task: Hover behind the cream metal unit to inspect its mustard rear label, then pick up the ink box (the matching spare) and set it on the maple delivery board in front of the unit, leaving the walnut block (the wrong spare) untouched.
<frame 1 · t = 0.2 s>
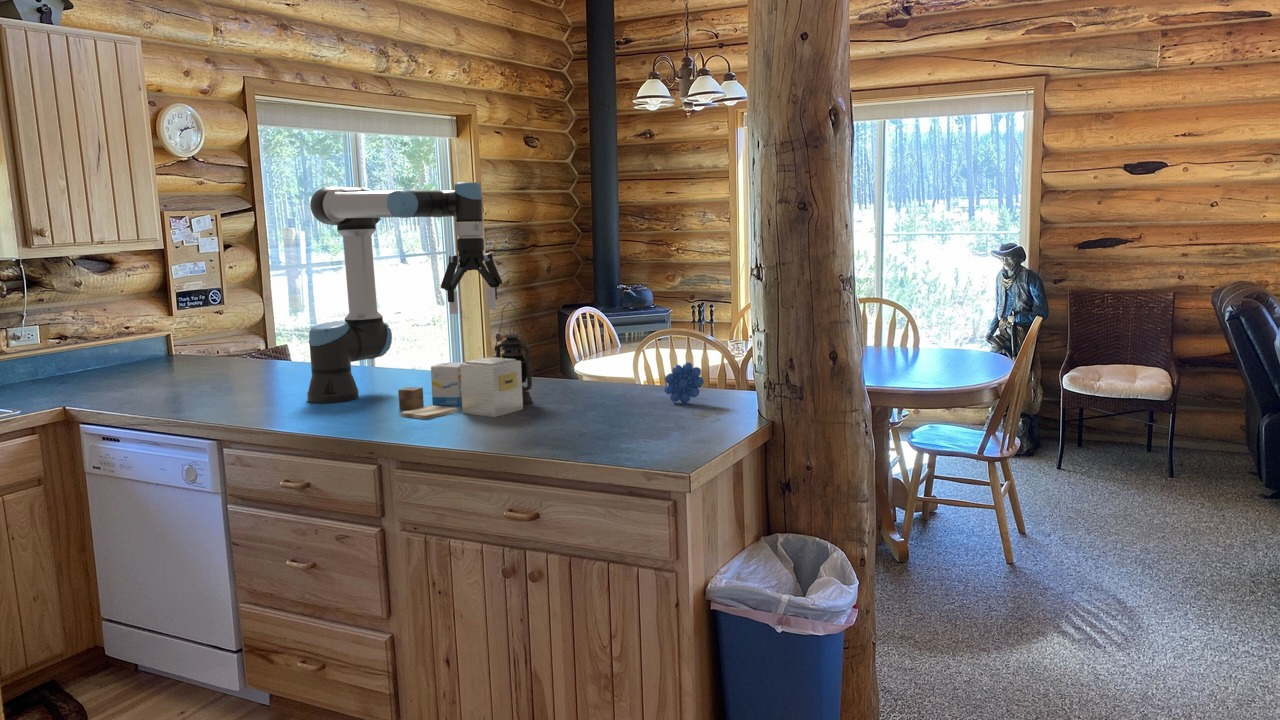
hand: (473, 311, 275), 28 cm above the counter, fingers open, 13 cm apart
board: (429, 413, 269), on the counter
blue flower: (685, 403, 277), on the counter
ink box: (451, 403, 284), on the counter
lantern: (514, 403, 283), on the counter
unit: (492, 411, 270), on the counter
walnut block: (411, 409, 277), on the counter
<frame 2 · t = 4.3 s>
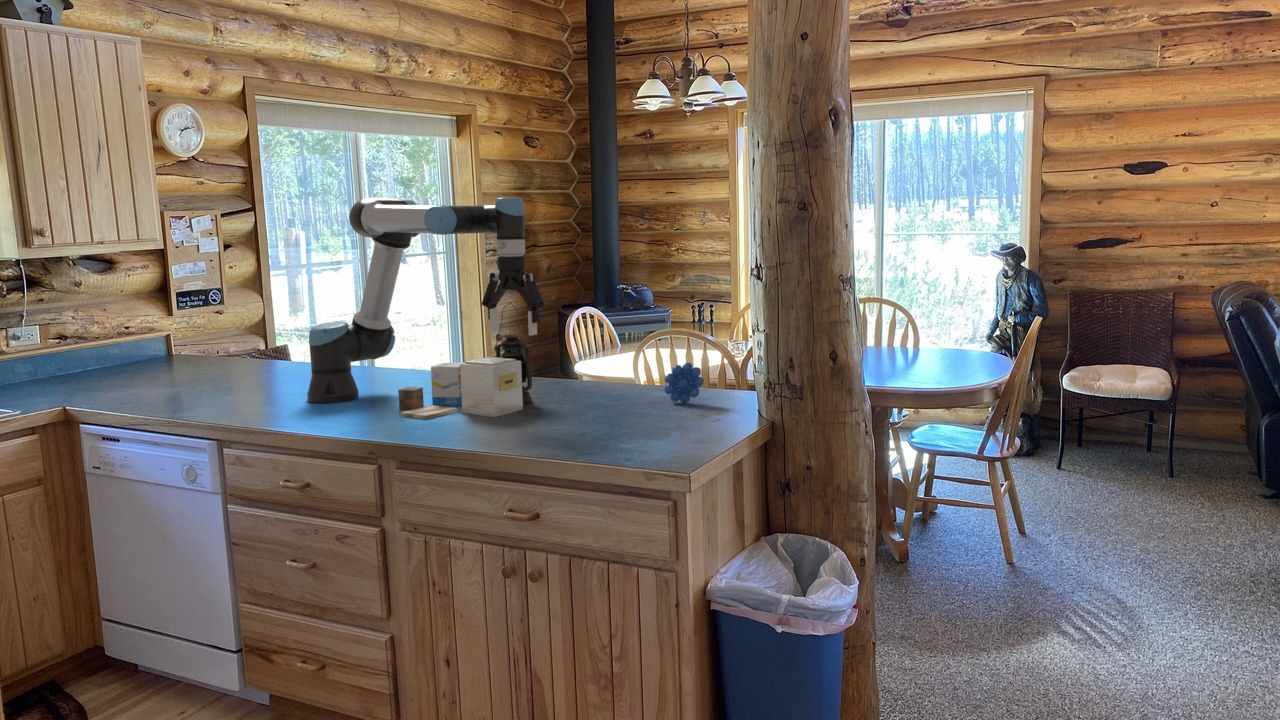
hand: (513, 333, 261), 23 cm above the counter, fingers open, 13 cm apart
nothing on the counter moved.
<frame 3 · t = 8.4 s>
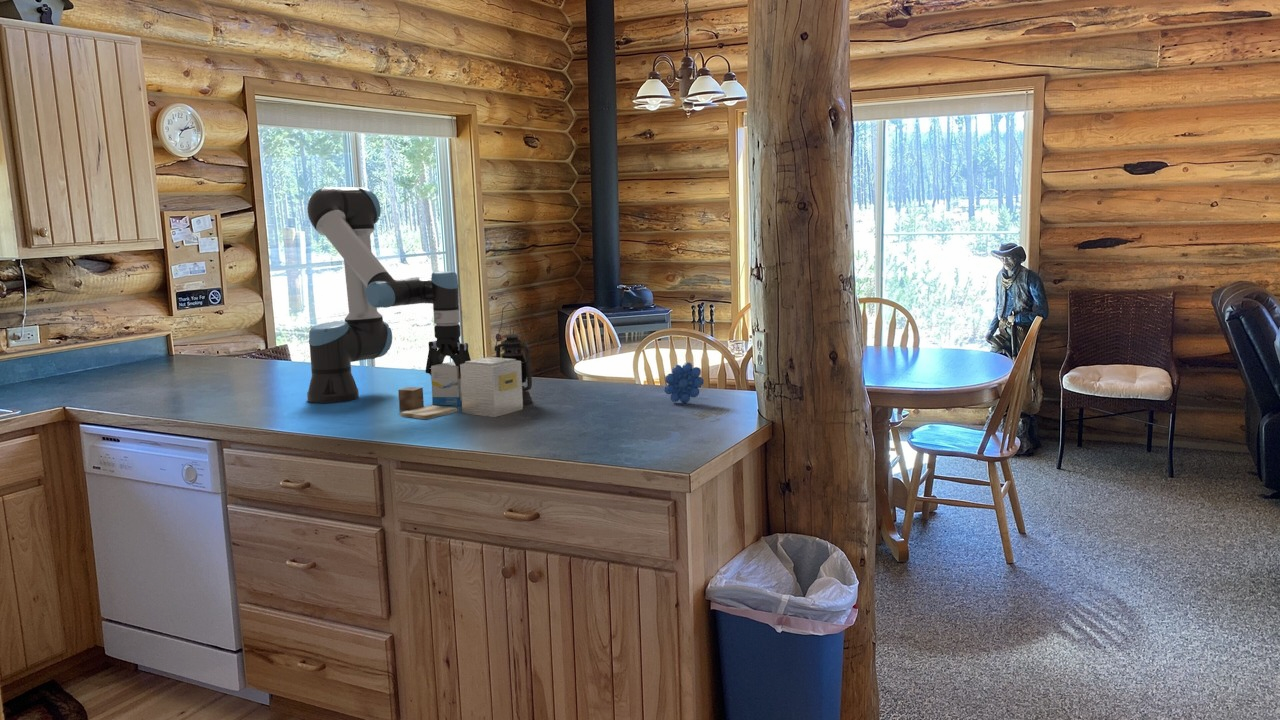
hand: (450, 398, 284), 1 cm above the counter, fingers closed on ink box, 10 cm apart
ink box: (451, 403, 284), on the counter, touching gripper
everything else where it was.
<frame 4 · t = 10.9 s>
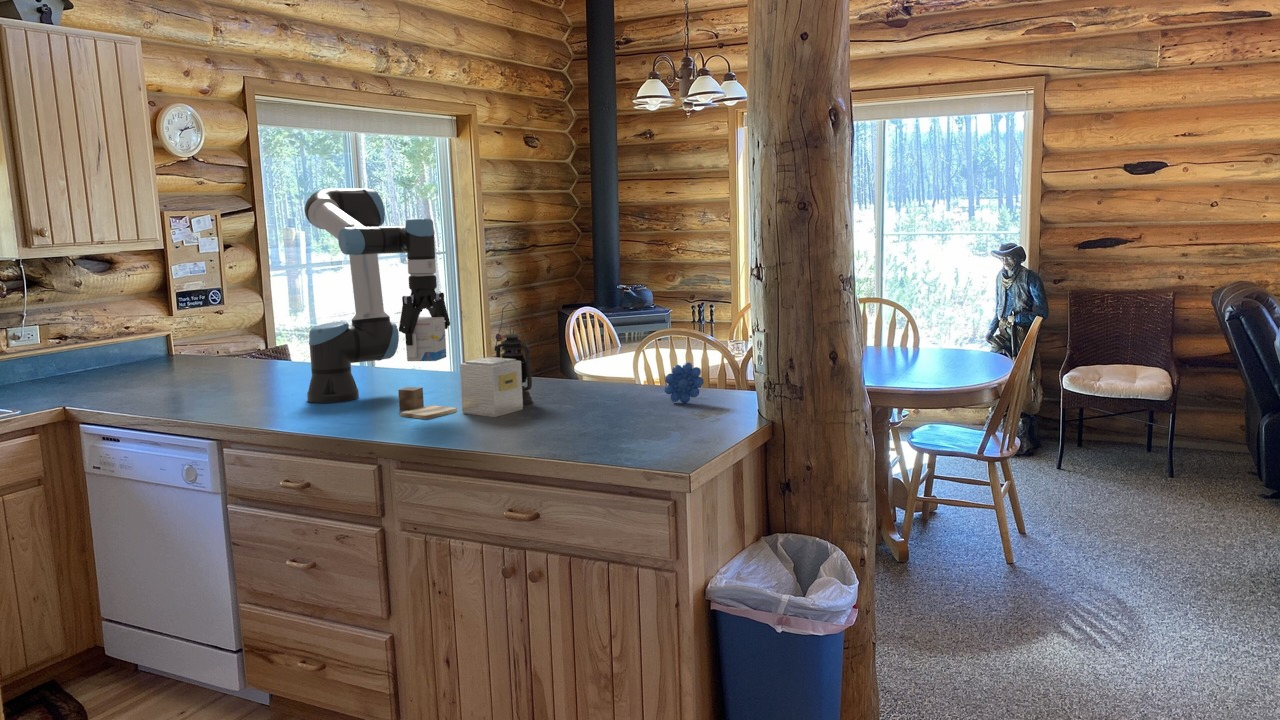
hand: (426, 354, 267), 17 cm above the counter, fingers closed on ink box, 10 cm apart
ink box: (427, 360, 267), point 15 cm above the counter, touching gripper
everything else where it was.
when the fingers open (4 cm above the counter, at t = 13.8 s): ink box drops 2 cm, resting on board.
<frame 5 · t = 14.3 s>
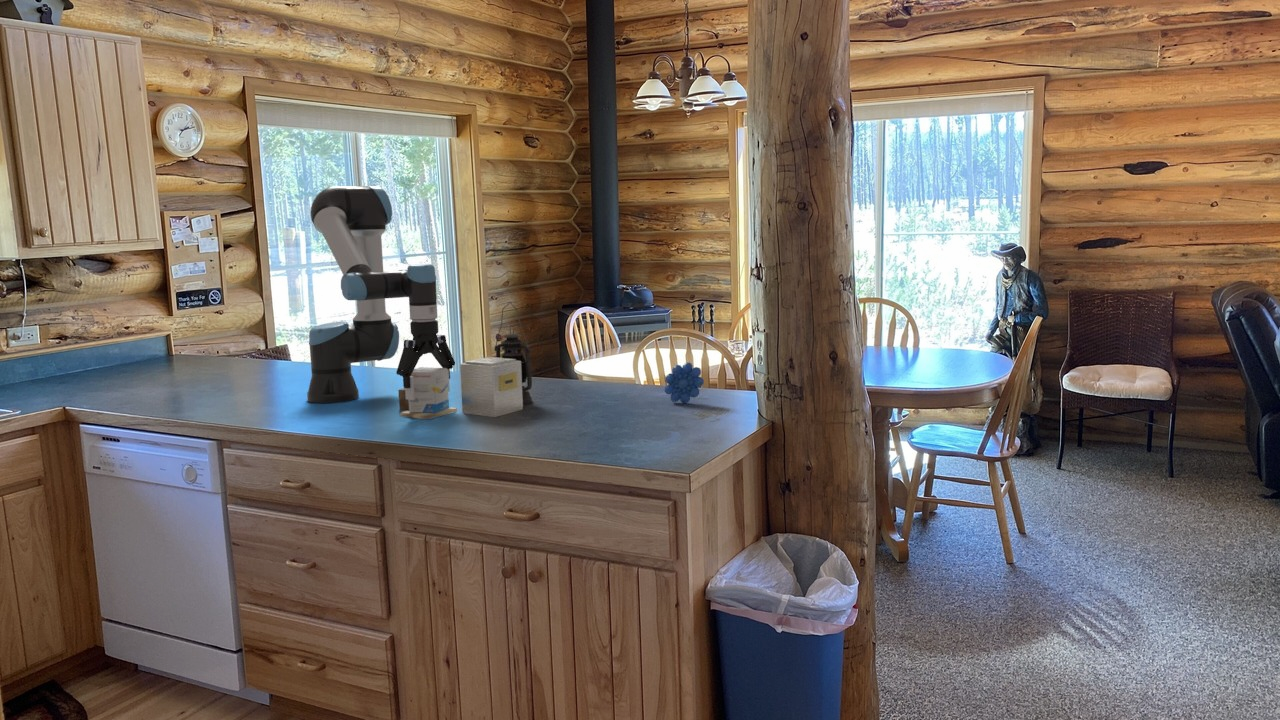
hand: (428, 395, 268), 5 cm above the counter, fingers open, 13 cm apart
ink box: (429, 410, 269), point 1 cm above the counter, touching board
everything else where it was.
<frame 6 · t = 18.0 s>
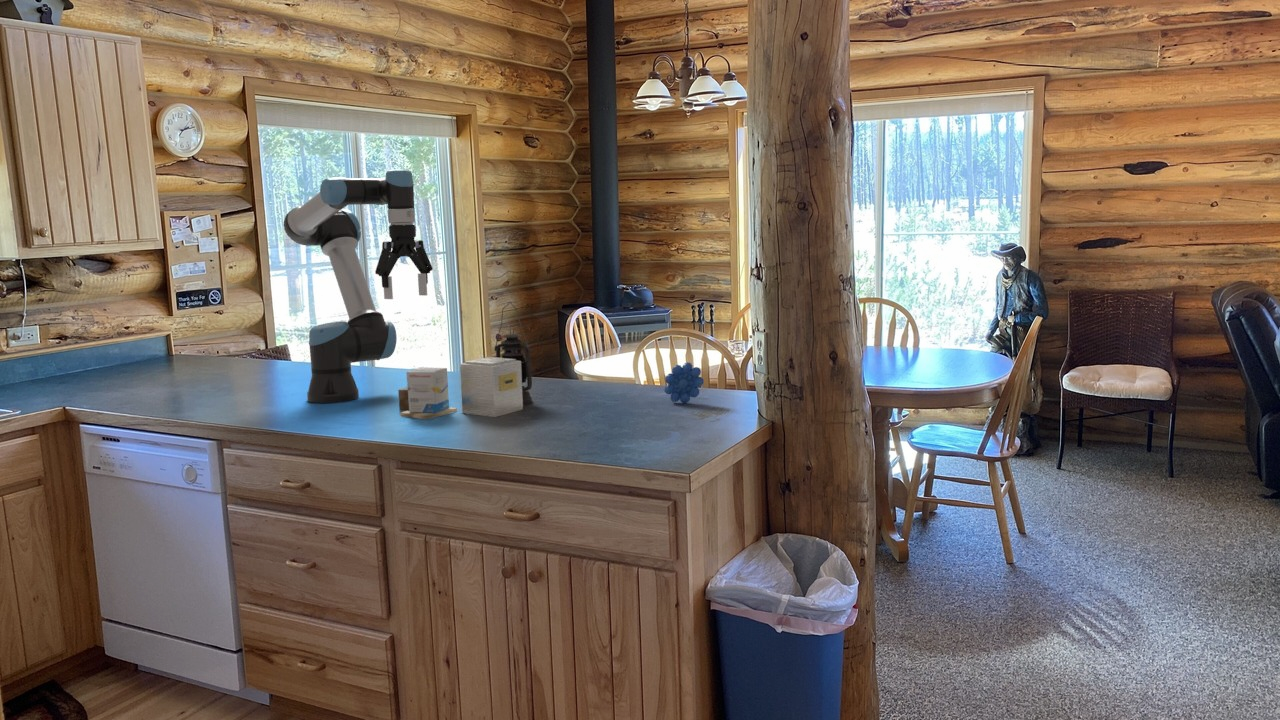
hand: (406, 297, 280), 32 cm above the counter, fingers open, 13 cm apart
nothing on the counter moved.
at the end: ink box inside the target area on the board (0.3 cm from its centre), point 0.8 cm above the board's base; ink box tilted 0°; the gripper is holding nothing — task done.
